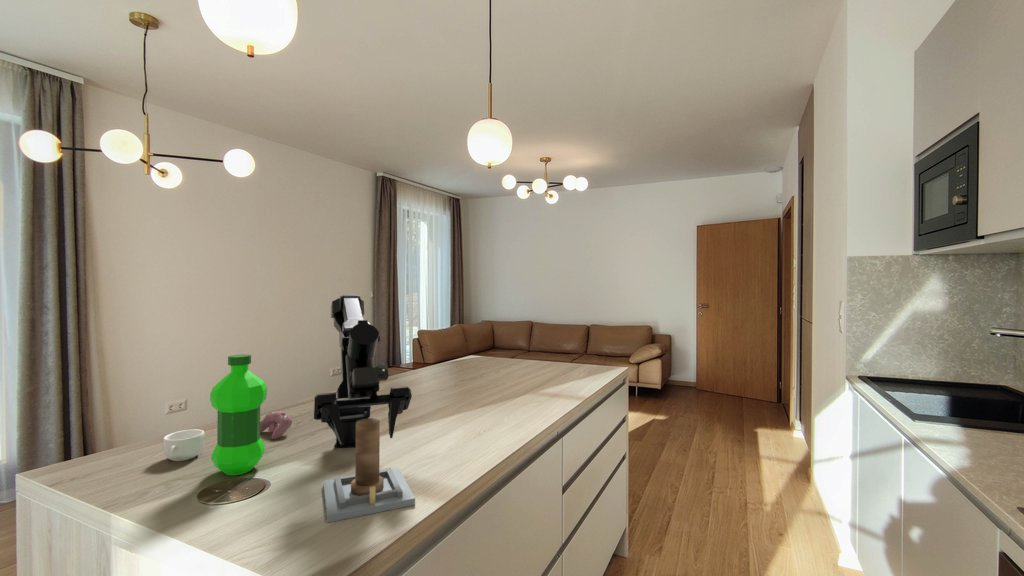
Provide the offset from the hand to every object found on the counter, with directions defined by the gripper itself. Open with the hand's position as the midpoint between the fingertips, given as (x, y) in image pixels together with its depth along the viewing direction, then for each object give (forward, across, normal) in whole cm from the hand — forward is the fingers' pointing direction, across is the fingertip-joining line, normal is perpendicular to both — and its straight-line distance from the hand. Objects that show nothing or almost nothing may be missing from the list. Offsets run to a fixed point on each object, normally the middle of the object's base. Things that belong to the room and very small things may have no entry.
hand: (367, 440), depth 86 cm
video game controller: (-25, -18, +41) cm, 52 cm away
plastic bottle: (-9, -24, +24) cm, 35 cm away
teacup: (-18, -36, +33) cm, 52 cm away
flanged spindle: (+7, 0, +6) cm, 9 cm away
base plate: (+8, 0, +7) cm, 10 cm away
